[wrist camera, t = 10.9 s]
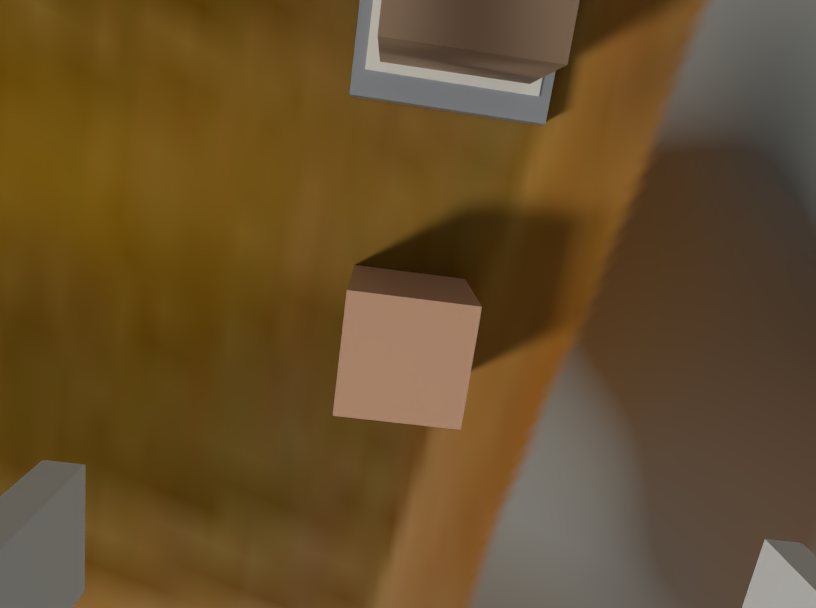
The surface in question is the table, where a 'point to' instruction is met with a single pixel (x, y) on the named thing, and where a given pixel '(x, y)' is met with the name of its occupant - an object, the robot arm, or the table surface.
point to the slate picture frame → (440, 82)
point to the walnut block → (479, 36)
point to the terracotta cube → (406, 347)
